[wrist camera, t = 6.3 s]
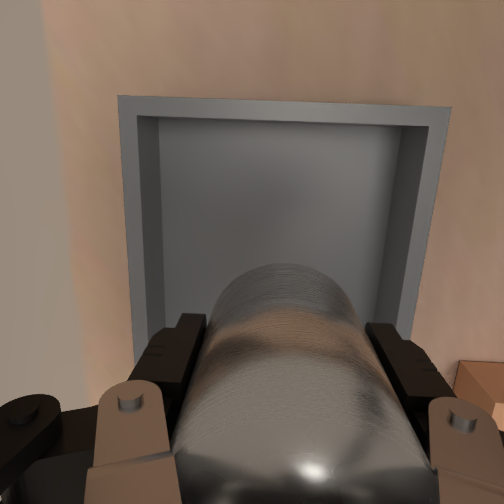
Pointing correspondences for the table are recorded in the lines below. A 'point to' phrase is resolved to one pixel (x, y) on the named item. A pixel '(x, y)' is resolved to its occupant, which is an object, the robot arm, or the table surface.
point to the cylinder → (293, 403)
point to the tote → (275, 200)
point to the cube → (482, 387)
